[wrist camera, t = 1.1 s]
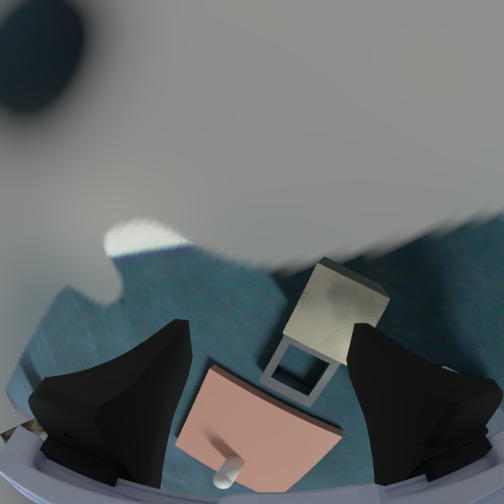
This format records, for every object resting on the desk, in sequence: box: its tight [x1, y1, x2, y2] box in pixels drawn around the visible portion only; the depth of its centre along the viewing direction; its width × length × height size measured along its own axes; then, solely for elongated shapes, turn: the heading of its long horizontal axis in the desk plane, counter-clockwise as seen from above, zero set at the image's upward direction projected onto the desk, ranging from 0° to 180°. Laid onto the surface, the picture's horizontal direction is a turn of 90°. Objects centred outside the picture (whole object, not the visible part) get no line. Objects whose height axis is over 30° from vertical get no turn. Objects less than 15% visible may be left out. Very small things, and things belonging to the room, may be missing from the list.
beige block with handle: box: [258, 257, 390, 408], centre depth 19 cm, size 12×5×5 cm, turn 155°
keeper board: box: [175, 364, 343, 492], centre depth 22 cm, size 14×14×6 cm
